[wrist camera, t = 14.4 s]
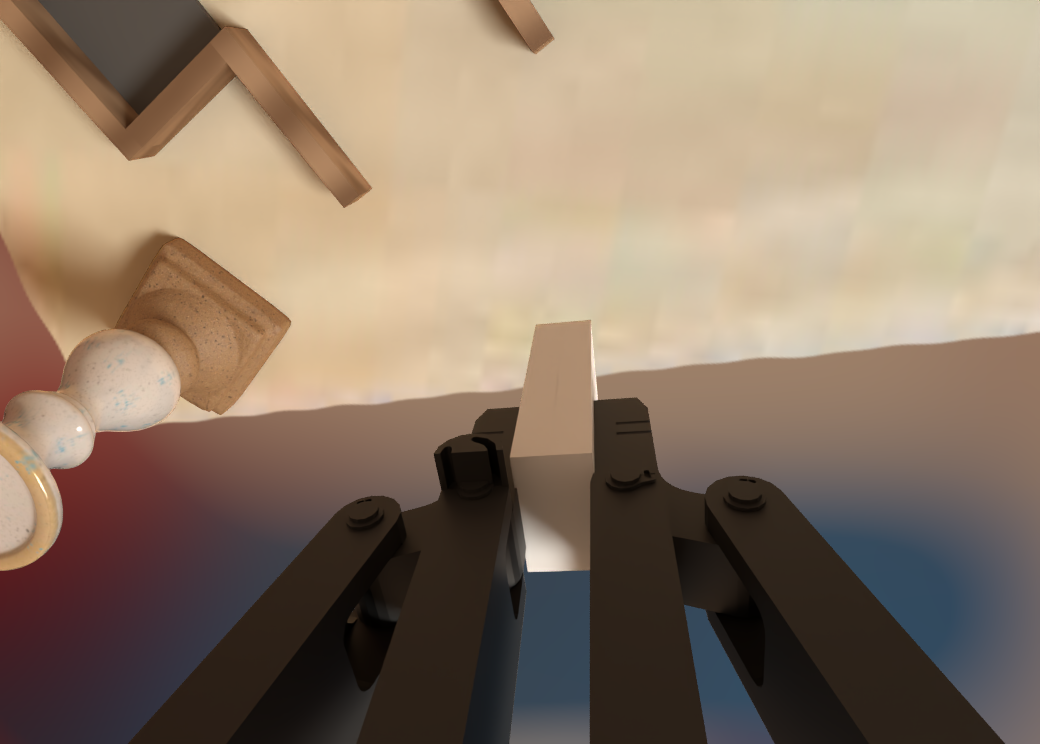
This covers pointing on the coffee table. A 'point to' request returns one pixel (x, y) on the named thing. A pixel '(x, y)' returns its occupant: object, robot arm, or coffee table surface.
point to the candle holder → (131, 384)
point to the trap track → (183, 72)
